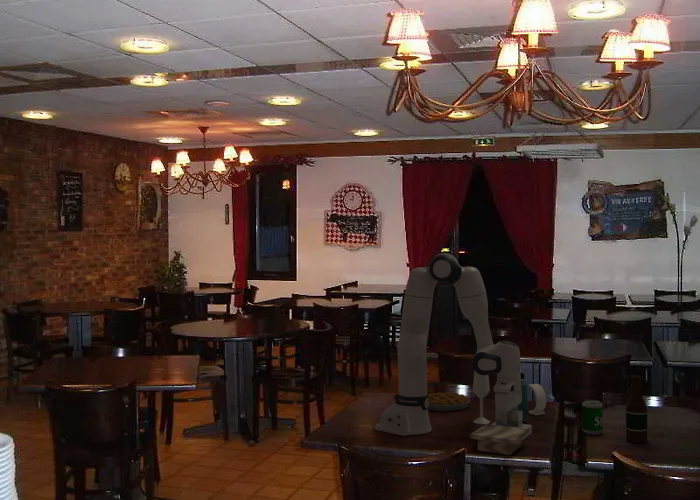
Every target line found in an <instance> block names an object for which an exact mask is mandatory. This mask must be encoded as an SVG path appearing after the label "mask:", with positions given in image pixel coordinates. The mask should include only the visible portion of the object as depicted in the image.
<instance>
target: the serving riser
mask: <svg viewBox="0 0 700 500" xmlns="http://www.w3.org/2000/svg"><path fill="white" fill-rule="evenodd" d="M527 434H528V429H524V428H516V427H508V426H499V425H491V424H490V423H487V424H483V425H482V426H481V427H479V428H478V429H476V430H474V431H473V432H471V433H470V434H469V439H473V440H477V451H480V452H486V453H494V454H502V455H508V456H511V455H512V454H513V453H515V452H516V451H517V450H519V449H520V448H521V447H522V441H521V438H523V437H524V436H525V435H527Z"/></svg>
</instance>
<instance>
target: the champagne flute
mask: <svg viewBox="0 0 700 500" xmlns="http://www.w3.org/2000/svg"><path fill="white" fill-rule="evenodd" d="M473 371H474V374H473V385H472V391H473V393H474V394H475V395H476V396H477V398H479V417H478V418H475V420H473V423H474V424H477V425H485V424H490V422H491V421H490V420H488V419H486V418H485V417H484V399H485V397H487V395H489V393H490V378H489V375H480V374H478V373H476V372H475V370H473Z"/></svg>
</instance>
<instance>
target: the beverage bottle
mask: <svg viewBox="0 0 700 500" xmlns="http://www.w3.org/2000/svg"><path fill="white" fill-rule="evenodd" d="M520 375H521V393H522V401H521V403H520V404H519V405H517V407H518V408H517V410H520V411H523V421H527V420H529V406H528V405H529V401H528V400H529V399H528V397H529V396H528V383H527V382H525V381H524V379H526V378H525V373H523V372H520Z"/></svg>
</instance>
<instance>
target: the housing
mask: <svg viewBox="0 0 700 500" xmlns="http://www.w3.org/2000/svg"><path fill="white" fill-rule="evenodd" d="M494 413H495V414H494V415H495V419H494V420H495V421H494V422H495V425H499V426H508V427H516V428H521V427H523V424H524V423H523V411H520V410H510V411H508V414H507V418H508V423H503V422H502V416H501V413H497V411H496V410H495V412H494Z"/></svg>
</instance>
